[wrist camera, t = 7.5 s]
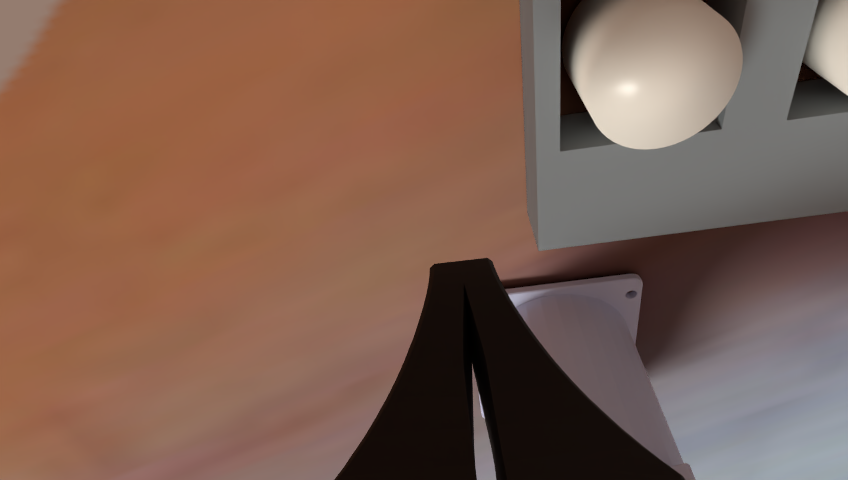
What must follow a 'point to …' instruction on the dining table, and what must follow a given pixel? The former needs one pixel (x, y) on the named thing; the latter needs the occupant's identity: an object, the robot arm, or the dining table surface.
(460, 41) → the dining table surface
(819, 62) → the middle knob
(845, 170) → the console
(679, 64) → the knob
